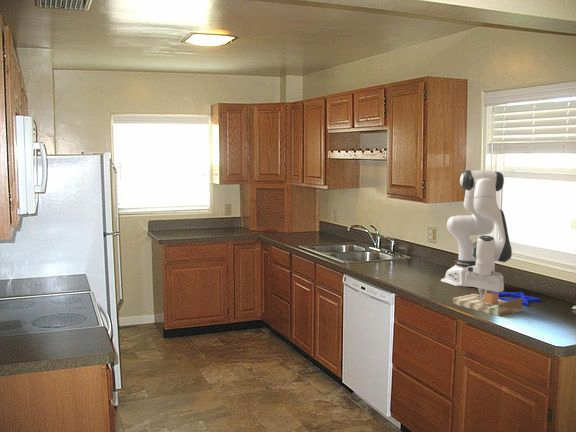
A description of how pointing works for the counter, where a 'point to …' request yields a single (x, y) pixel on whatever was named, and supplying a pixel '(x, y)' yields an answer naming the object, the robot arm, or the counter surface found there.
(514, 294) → the symbol
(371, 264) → the counter surface
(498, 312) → the board
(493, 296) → the block
